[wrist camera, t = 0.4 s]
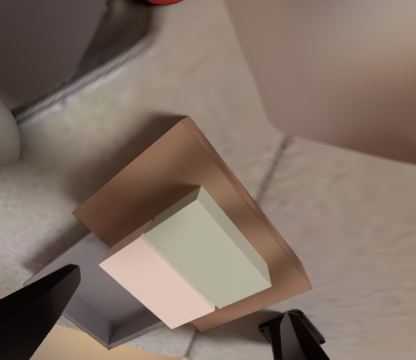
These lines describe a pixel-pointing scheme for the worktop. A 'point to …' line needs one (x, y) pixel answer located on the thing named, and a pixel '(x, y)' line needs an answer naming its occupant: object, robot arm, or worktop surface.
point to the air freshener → (8, 136)
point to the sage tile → (209, 249)
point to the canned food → (163, 1)
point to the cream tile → (155, 280)
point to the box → (100, 296)
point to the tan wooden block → (179, 188)
